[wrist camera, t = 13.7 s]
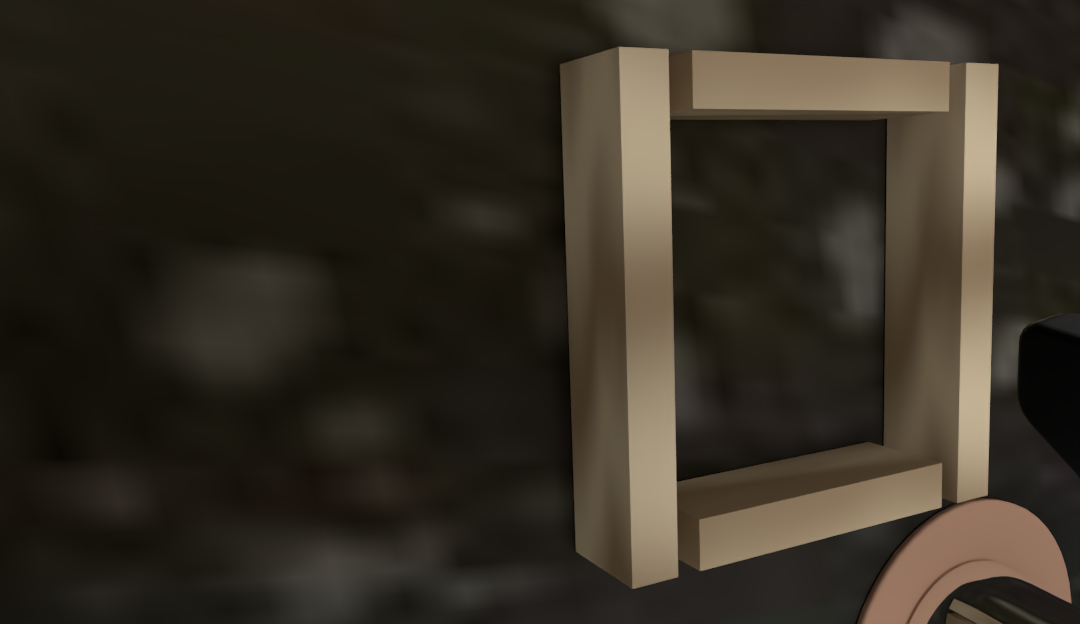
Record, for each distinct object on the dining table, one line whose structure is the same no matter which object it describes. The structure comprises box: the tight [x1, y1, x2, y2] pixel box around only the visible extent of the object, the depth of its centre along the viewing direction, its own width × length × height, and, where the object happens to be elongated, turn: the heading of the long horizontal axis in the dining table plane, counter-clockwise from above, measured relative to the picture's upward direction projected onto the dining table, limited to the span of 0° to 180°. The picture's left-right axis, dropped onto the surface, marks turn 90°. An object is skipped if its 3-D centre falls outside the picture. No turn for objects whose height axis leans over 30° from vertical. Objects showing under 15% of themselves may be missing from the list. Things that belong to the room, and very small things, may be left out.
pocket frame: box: [560, 47, 998, 589], centre depth 23 cm, size 11×11×2 cm
